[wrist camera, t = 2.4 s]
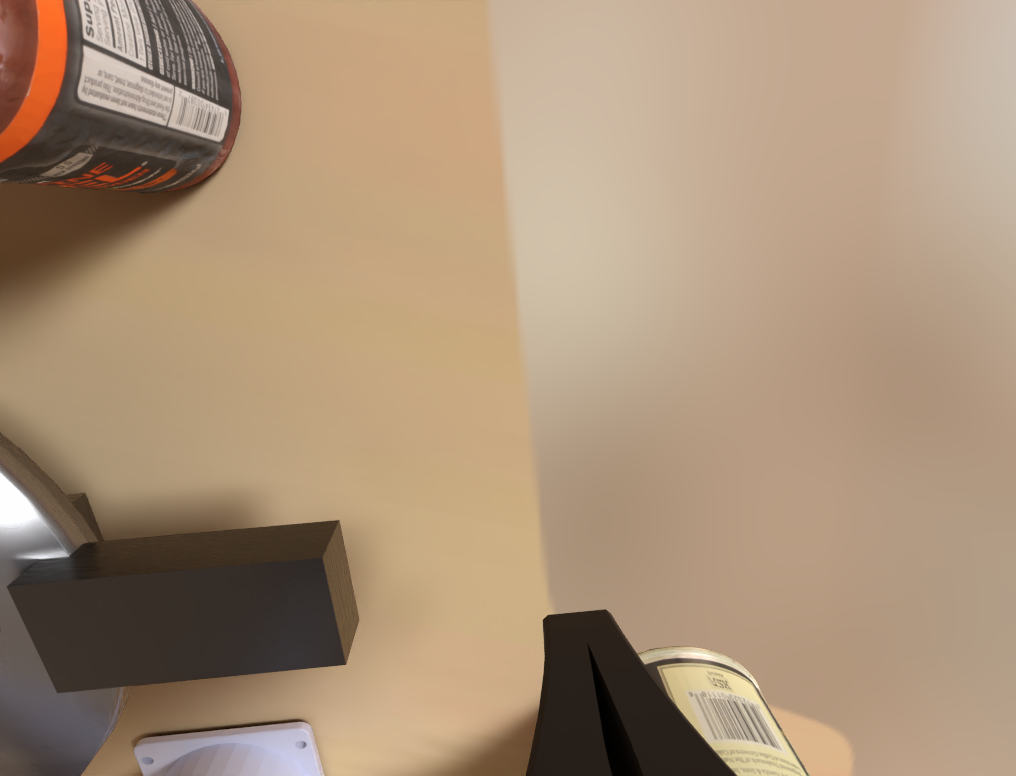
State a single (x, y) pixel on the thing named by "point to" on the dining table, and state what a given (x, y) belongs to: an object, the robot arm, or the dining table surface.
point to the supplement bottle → (114, 94)
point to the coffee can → (725, 709)
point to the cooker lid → (145, 615)
